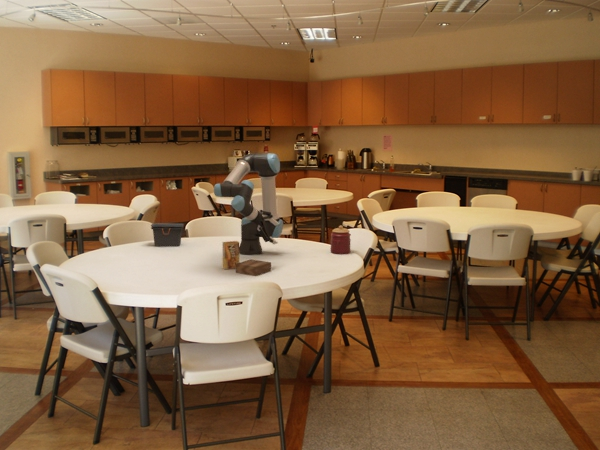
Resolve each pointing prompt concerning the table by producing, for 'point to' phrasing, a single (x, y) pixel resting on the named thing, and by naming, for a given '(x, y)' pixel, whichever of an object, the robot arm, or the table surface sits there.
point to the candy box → (230, 254)
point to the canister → (340, 241)
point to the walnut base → (253, 267)
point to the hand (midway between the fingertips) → (276, 233)
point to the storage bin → (167, 234)
